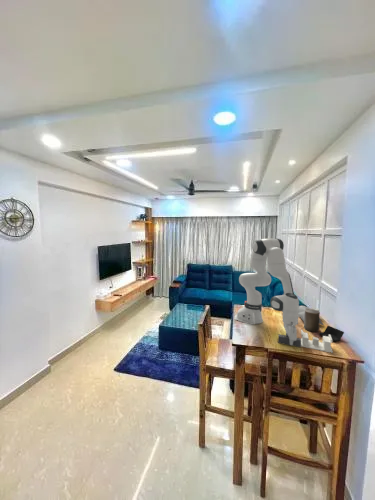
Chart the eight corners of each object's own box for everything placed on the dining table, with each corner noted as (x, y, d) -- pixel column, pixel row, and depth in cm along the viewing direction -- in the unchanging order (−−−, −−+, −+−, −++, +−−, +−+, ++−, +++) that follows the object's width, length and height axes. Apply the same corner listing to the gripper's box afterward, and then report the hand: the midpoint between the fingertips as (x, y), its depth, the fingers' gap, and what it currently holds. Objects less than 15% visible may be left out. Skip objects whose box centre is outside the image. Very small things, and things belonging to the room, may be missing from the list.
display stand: (300, 346, 136) (301, 335, 135) (299, 339, 145) (300, 328, 144) (332, 353, 129) (333, 341, 128) (329, 345, 138) (330, 333, 137)
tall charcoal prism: (277, 343, 140) (278, 336, 139) (278, 341, 142) (278, 334, 142) (300, 348, 134) (301, 340, 134) (300, 346, 137) (300, 338, 137)
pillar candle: (320, 332, 155) (322, 312, 154) (306, 331, 157) (307, 311, 156) (315, 326, 165) (316, 307, 164) (301, 325, 167) (302, 306, 166)
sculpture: (292, 311, 196) (292, 301, 195) (315, 313, 192) (316, 303, 191) (299, 323, 172) (300, 311, 171) (326, 325, 167) (327, 313, 166)
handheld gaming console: (319, 337, 151) (318, 333, 151) (328, 329, 155) (327, 325, 154) (335, 344, 142) (334, 340, 141) (345, 336, 145) (344, 331, 144)
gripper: (300, 326, 126) (298, 349, 127) (292, 314, 146) (291, 334, 147) (288, 325, 127) (287, 348, 128) (282, 313, 147) (281, 333, 148)
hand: (289, 340), depth 138 cm, fingers open, 8 cm apart
